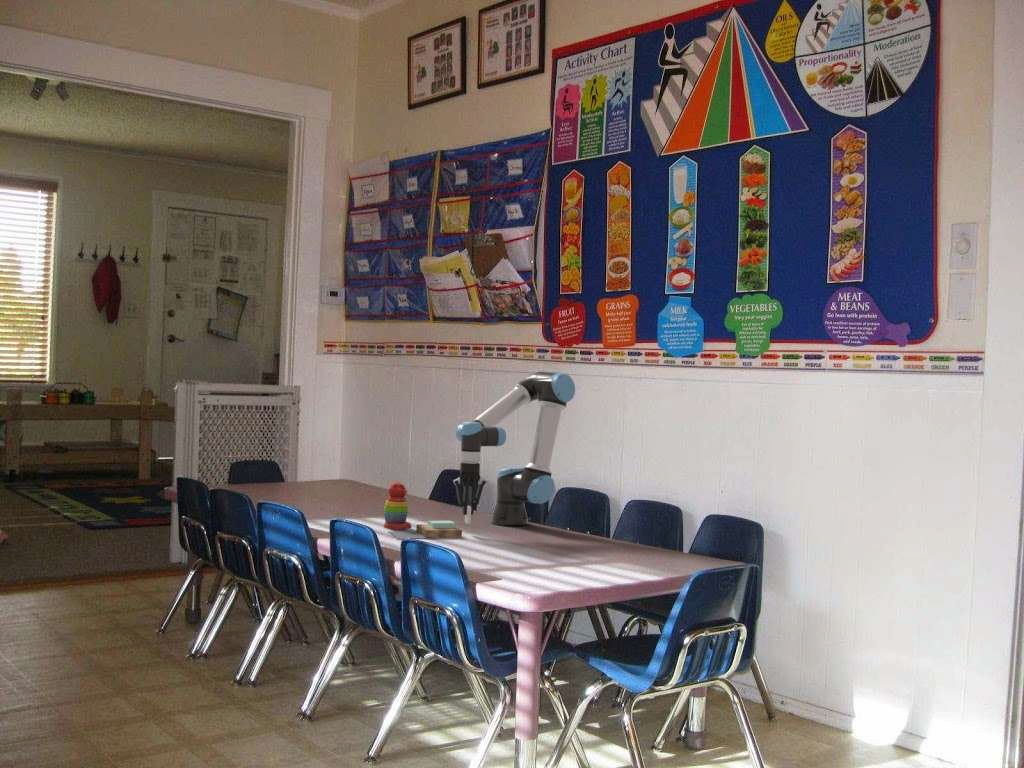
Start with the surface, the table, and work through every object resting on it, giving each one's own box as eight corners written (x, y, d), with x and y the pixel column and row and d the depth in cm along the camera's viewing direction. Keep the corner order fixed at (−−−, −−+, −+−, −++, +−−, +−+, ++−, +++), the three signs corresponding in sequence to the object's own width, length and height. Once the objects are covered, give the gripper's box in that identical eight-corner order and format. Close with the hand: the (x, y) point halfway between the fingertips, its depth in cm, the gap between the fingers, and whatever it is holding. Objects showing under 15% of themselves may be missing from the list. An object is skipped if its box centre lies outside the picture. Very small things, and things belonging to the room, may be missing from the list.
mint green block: (450, 525, 426) (450, 520, 426) (455, 528, 421) (455, 523, 421) (428, 526, 423) (428, 520, 423) (432, 528, 417) (432, 523, 417)
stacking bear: (404, 530, 429) (406, 484, 429) (379, 528, 431) (381, 483, 431) (412, 526, 440) (414, 482, 439) (388, 524, 442) (389, 480, 441)
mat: (415, 531, 427) (415, 531, 427) (426, 538, 412) (426, 538, 412) (387, 532, 423) (387, 531, 423) (398, 539, 408) (398, 538, 408)
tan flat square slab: (450, 531, 431) (451, 524, 430) (461, 537, 417) (462, 529, 417) (416, 532, 426) (416, 524, 426) (426, 538, 413) (426, 530, 413)
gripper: (483, 461, 431) (480, 521, 431) (451, 461, 426) (448, 521, 427) (489, 463, 424) (486, 524, 424) (457, 463, 419) (454, 524, 420)
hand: (467, 523), depth 425 cm, fingers closed
